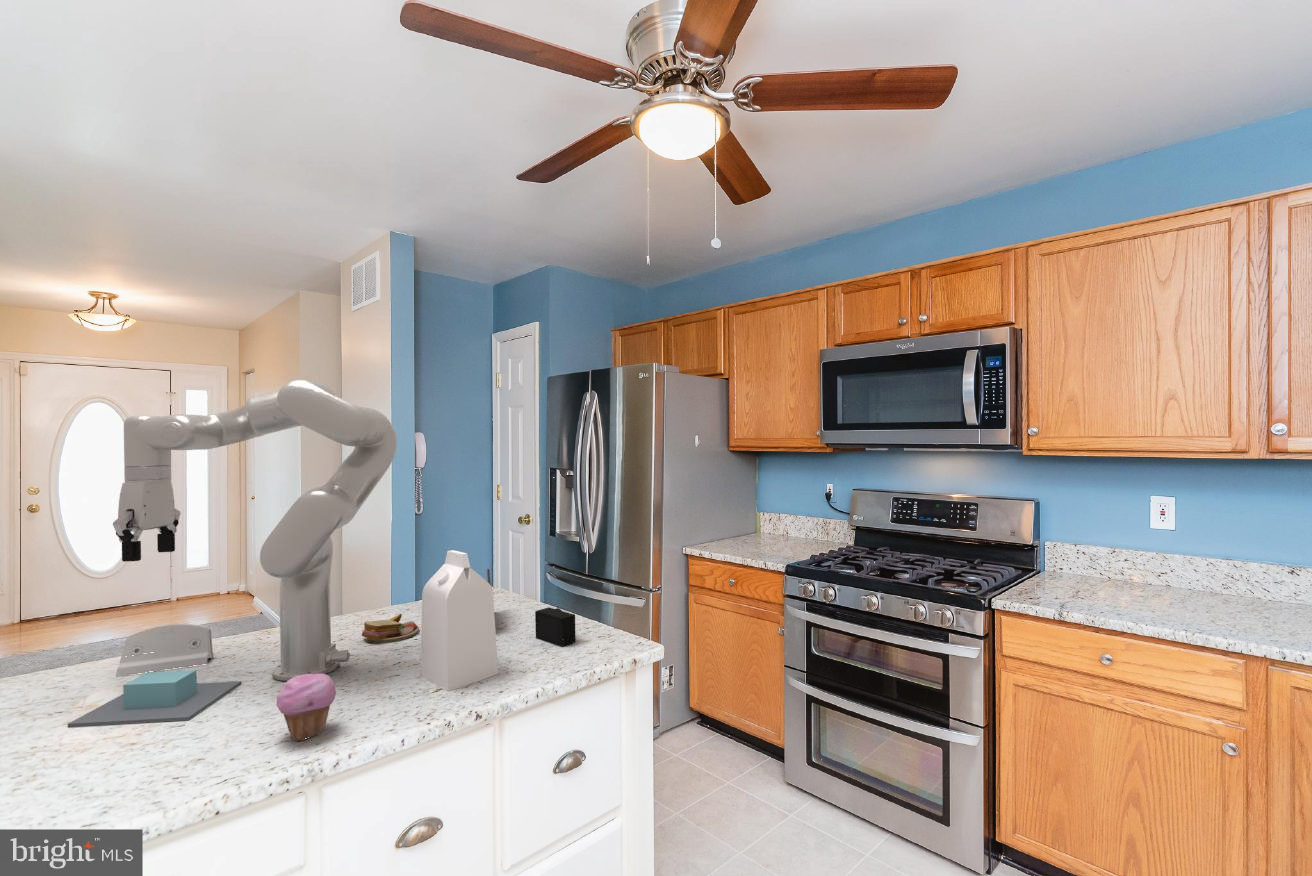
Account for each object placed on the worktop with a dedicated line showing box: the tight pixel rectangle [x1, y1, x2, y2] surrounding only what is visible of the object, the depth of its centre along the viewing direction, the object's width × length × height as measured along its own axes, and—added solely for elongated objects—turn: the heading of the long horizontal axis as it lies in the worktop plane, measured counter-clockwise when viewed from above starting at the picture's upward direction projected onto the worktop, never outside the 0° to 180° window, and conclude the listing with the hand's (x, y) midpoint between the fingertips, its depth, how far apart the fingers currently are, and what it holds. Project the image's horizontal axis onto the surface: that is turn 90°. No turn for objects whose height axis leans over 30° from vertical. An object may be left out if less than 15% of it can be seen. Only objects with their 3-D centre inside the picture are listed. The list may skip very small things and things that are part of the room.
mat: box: [67, 680, 242, 728], centre depth 115 cm, size 20×16×1 cm
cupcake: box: [276, 673, 337, 742], centre depth 102 cm, size 9×9×10 cm
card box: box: [122, 669, 198, 709], centre depth 115 cm, size 6×9×4 cm, turn 95°
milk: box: [419, 549, 499, 692], centre depth 127 cm, size 12×12×26 cm
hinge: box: [115, 623, 214, 678], centre depth 135 cm, size 17×5×10 cm, turn 113°
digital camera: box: [534, 606, 576, 648], centre depth 148 cm, size 10×5×7 cm, turn 49°
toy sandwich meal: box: [361, 613, 420, 643], centre depth 153 cm, size 12×14×5 cm
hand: (149, 556), depth 126 cm, fingers open, 9 cm apart
